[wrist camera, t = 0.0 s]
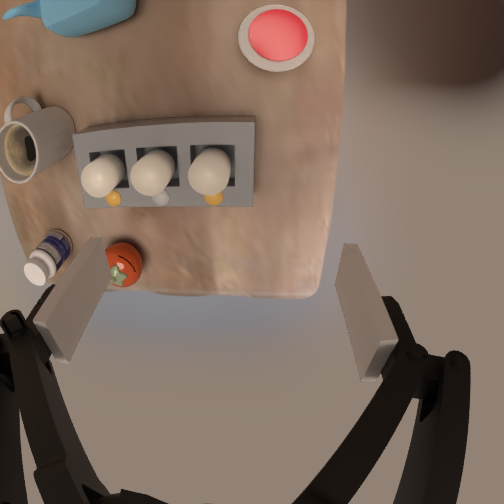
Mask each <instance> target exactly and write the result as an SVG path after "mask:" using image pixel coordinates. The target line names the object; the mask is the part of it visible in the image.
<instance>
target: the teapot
mask: <svg viewBox="0 0 504 504" xmlns="http://www.w3.org/2000/svg"><path fill="white" fill-rule="evenodd" d="M136 1H137V0H36V1H33V2H30V3H27V4H23V5H20V6H17V7H14V8H12V9H10V10H9V11H7V12H6V13H5V14H4V15H3V19H4V20H6V19H10V18H13V17H16V16H31V17H36V18H42V20H43V23H44V25H45V27H46V28H48V29H49V30H51V31H53V32H55V33H57V34H59V35H62V36H66V37H78V36H82V35H85V34H88V33H91V32H94V31H97V30H100V29H103V28H106V27H108V26H111V25H113V24H116V23H119V22H121V21H123V20H126V19H128V18H130V17H131V16H132V15H133V14H134V12H135V8H136Z"/></svg>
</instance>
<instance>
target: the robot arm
mask: <svg viewBox="0 0 504 504" xmlns="http://www.w3.org/2000/svg"><path fill="white" fill-rule="evenodd" d="M111 279H112V274H111V270H110V267H109V263H108V260H107V256H106V252H105V248H104V245H103V241H102V238H90V239H89V240H88V241H87V243H86V244H85V245H84V247H83V248H82V249H81V251H80V252H79V253H78V255H77V256H76V257H75V259H74V260H73V261H72V263H71V264H70V265H69V267H68V268H67V270H66V271H65V272H64V274H63V275H62V277H61V278H60V279H59V281H58V282H57V284H56V285H55V284H52V285H51V286H50V287H49V288H48V289H46V290H45V292H44V293H43V295H42V296H41V299H39V300H38V302H37V304H36V305H35V307H34V308H33V310H32V311H31V313H30V314H29V316H28V317H27V319H26V320H25V318H24V316H23V315H22V313H21V311H19V310H11V311H9V312H7V313H6V314H5V315H4V316H3V317H2V318H1V320H0V326H1V328H2V329H3V331H4V334H0V504H28V501H27V493H26V487H25V480H24V472H23V464H22V454H21V442H20V418H19V408H20V412H21V417H22V421H23V424H24V428H25V431H26V435H27V438H28V442H29V445H30V448H31V451H32V454H33V457H34V460H35V463H36V466H37V470H35V471H34V479H35V482H36V484H37V487H38V489H39V492H40V494H41V497H42V499H43V501H44V504H168V503H165V502H163V501H160V500H158V499H156V498H153V497H151V496H149V495H146V494H141V493H136V492H132V491H128V490H124V489H121V492H120V493H117V494H110V493H109V492H108V490H107V489H106V487H105V486H104V485H103V484H102V483H101V482H100V480H99V479H98V477H97V475H96V473H95V471H94V470H93V468H92V466H91V464H90V461H89V460H88V457H87V455H86V453H85V451H84V449H83V447H82V444H81V442H80V440H79V438H78V435H77V433H76V431H75V428H74V426H73V423H72V421H71V419H70V416H69V413H68V411H67V408H66V406H65V403H64V400H63V397H62V394H61V392H60V388H59V385H58V382H57V379H56V376H55V373H54V370H53V366H52V363H51V361H50V360H49V358H50V356H51V354H53V356H54V358H55V359H56V361H59V362H63V363H68V364H69V362H70V360H71V358H72V356H73V353H74V351H75V349H76V347H77V345H78V343H79V341H80V339H81V336H82V335H83V332H84V330H85V328H86V326H87V324H88V322H89V320H90V318H91V316H92V314H93V312H94V310H95V308H96V307H97V305H98V303H99V301H100V299H101V297H102V295H103V293H104V291H105V290H106V288H107V286H108V284H109V282H110V280H111ZM335 287H336V290H337V294H338V297H339V301H340V304H341V307H342V311H343V315H344V318H345V322H346V326H347V330H348V333H349V337H350V341H351V345H352V349H353V353H354V357H355V361H356V364H357V369H358V373H359V377H360V381H361V382H365V381H375V380H377V379H378V377H379V375H380V374H382V378H383V382H382V383H381V385H380V387H379V388H378V390H377V391H376V393H375V395H374V397H373V398H372V400H371V401H370V403H369V404H368V406H367V407H366V409H365V410H364V412H363V413H362V415H361V416H360V418H359V420H358V421H357V422H356V424H355V425H354V427H353V428H352V430H351V431H350V432H349V434H348V435H347V437H346V438H345V439H344V441H343V442H342V443H341V445H340V446H339V447H338V449H337V450H336V452H335V453H334V454H333V455H332V457H331V458H330V459H329V461H328V462H327V463H326V464H325V466H324V467H323V468H322V469H321V471H320V472H319V473H318V474H317V475H316V477H315V478H314V479H313V480H312V481H311V483H310V484H309V485H308V486H307V487H306V488H305V490H304V491H303V492H302V493H301V494H300V495H299V496H298V497H297V498H296V500H295V501H294V502H293V503H292V504H348V503H349V501H350V500H351V499H352V497H353V496H354V495H355V493H356V492H357V490H358V489H359V488H360V486H361V485H362V483H363V482H364V480H365V479H366V477H367V476H368V474H369V473H370V471H371V470H372V468H373V467H374V465H375V463H376V462H377V461H378V459H379V457H380V456H381V454H382V452H383V450H384V449H385V447H386V446H387V444H388V442H389V441H390V438H391V437H392V435H393V434H394V432H395V430H396V428H397V426H398V425H399V423H400V421H401V419H402V417H403V415H404V413H405V411H406V409H407V407H408V405H409V403H410V401H411V399H412V398H417V399H419V404H418V409H417V415H416V420H415V425H414V430H413V435H412V439H411V443H410V447H409V451H408V455H407V459H406V463H405V467H404V470H403V474H402V477H401V480H400V484H399V487H398V490H397V493H396V496H395V499H394V502H393V504H456V502H457V497H458V492H459V488H460V482H461V477H462V472H463V465H464V459H465V452H466V443H467V434H468V423H469V408H470V361H469V359H468V358H467V356H466V355H464V354H463V353H461V352H459V351H454V350H453V351H450V352H448V353H447V354H446V356H445V357H439V356H433V355H430V354H428V352H427V350H426V349H425V348H424V347H423V346H421V345H420V344H417V343H416V342H415V340H414V337H413V335H412V333H411V330H410V328H409V326H408V323H407V321H406V320H405V317H404V314H403V313H402V310H401V308H400V306H399V304H398V302H396V300H395V299H394V298H393V297H391V296H381V295H380V293H379V291H378V288H377V286H376V284H375V281H374V279H373V277H372V275H371V272H370V270H369V268H368V266H367V264H366V262H365V259H364V257H363V255H362V253H361V251H360V249H359V247H358V245H357V244H343V249H342V254H341V259H340V263H339V268H338V272H337V277H336V281H335Z"/></svg>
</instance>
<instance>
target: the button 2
mask: <svg viewBox="0 0 504 504" xmlns="http://www.w3.org/2000/svg"><path fill="white" fill-rule="evenodd" d="M231 168H232V163H231V160H230V157H229V156H228V154H227V153H226V152H224V151H223V150H221V149H218V148H207V149H204V150H202V151H201V152H200V153H199V154H198V155H197V157H196V158H195V160H194V161H193V163H192V165H191V166H190V168H189V171H188V180H189V183H190V185H191V187H192V188H193V189H194V190H195V191H196V192H198V193H200V194H203V195H215V194H218V193H220V192H221V191H223V190H224V189H225V187H226V186H227V184H228V181H229V177H230V172H231Z"/></svg>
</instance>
